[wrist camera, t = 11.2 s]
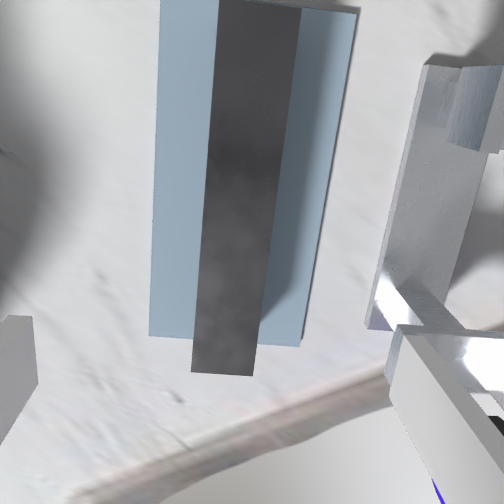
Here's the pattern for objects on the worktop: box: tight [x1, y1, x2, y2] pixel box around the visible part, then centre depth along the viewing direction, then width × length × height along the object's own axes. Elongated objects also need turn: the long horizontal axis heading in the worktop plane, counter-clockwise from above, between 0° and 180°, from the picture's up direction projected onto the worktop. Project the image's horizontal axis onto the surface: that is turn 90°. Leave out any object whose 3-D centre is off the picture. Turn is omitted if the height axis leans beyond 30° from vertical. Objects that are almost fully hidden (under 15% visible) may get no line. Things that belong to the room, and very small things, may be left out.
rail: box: [191, 0, 302, 376], centre depth 31 cm, size 24×4×6 cm, turn 174°
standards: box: [364, 64, 504, 410], centre depth 30 cm, size 8×21×12 cm, turn 174°
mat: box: [149, 0, 357, 347], centre depth 34 cm, size 13×26×1 cm, turn 174°
